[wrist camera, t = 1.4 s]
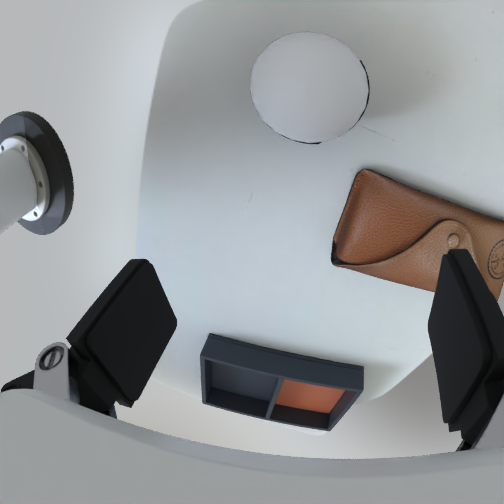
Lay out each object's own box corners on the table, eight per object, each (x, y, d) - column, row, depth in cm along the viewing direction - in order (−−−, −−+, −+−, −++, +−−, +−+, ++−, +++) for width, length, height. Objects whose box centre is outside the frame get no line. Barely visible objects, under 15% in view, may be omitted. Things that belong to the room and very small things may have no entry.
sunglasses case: (524, 222, 20) (534, 290, 17) (486, 254, 26) (489, 313, 23) (354, 163, 22) (347, 240, 19) (335, 212, 28) (325, 277, 25)
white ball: (242, 91, 21) (207, 101, 15) (303, 19, 17) (292, -3, 11) (342, 173, 23) (347, 215, 17) (407, 109, 19) (439, 127, 13)
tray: (209, 384, 45) (202, 403, 42) (209, 333, 37) (199, 355, 34) (332, 411, 42) (330, 431, 40) (363, 366, 35) (363, 390, 32)
